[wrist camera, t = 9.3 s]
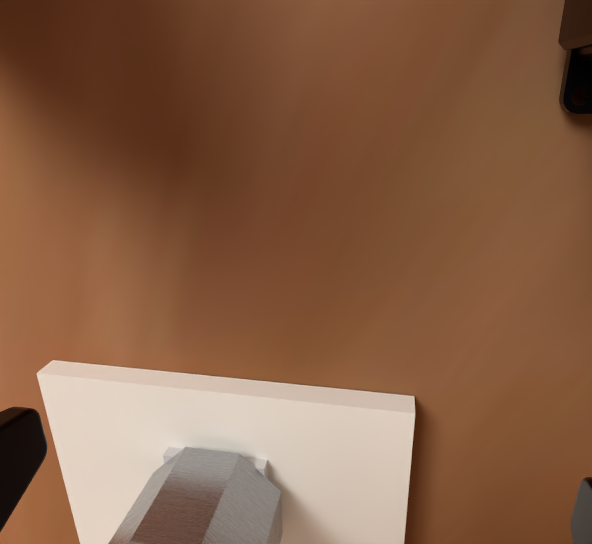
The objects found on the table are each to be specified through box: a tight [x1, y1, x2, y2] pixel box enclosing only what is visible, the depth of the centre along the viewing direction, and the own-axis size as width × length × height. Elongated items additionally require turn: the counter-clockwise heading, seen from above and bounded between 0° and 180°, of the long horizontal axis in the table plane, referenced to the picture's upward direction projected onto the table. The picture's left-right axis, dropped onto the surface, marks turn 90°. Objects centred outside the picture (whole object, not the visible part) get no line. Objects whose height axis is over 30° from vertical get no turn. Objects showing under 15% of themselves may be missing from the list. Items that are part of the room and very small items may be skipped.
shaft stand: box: [37, 360, 415, 544], centre depth 21 cm, size 18×12×7 cm, turn 91°
